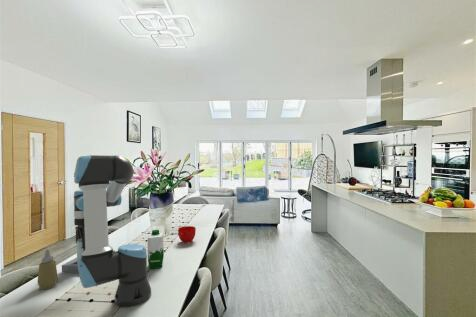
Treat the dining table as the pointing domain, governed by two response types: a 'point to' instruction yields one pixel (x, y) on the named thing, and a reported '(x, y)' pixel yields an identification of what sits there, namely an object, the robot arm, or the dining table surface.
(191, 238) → the ceramic cup
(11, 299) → the dining table surface
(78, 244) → the cartridge
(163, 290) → the dining table surface
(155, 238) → the milk carton
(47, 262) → the squeeze bottle
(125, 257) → the robot arm
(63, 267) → the housing
